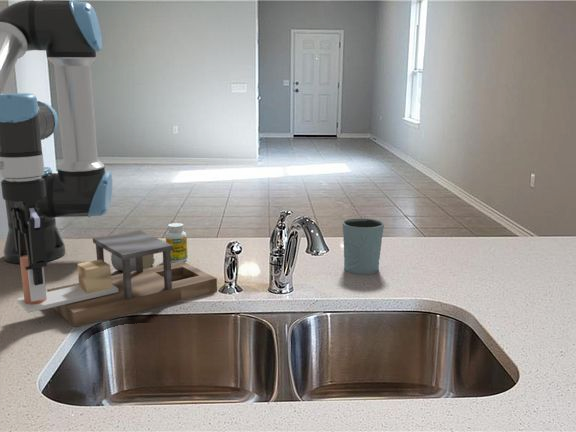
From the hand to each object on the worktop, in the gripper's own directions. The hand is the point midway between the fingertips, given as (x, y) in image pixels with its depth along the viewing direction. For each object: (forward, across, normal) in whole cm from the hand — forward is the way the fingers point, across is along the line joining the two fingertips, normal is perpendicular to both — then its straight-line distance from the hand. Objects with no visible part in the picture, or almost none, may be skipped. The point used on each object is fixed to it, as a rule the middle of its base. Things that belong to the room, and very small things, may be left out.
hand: (34, 295), depth 116 cm
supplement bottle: (+5, -18, +41) cm, 45 cm away
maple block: (+1, 0, +12) cm, 12 cm away
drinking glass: (+5, +18, +74) cm, 76 cm away
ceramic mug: (+5, -18, +29) cm, 34 cm away
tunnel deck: (+5, 0, +21) cm, 21 cm away
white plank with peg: (+2, 0, +7) cm, 7 cm away
